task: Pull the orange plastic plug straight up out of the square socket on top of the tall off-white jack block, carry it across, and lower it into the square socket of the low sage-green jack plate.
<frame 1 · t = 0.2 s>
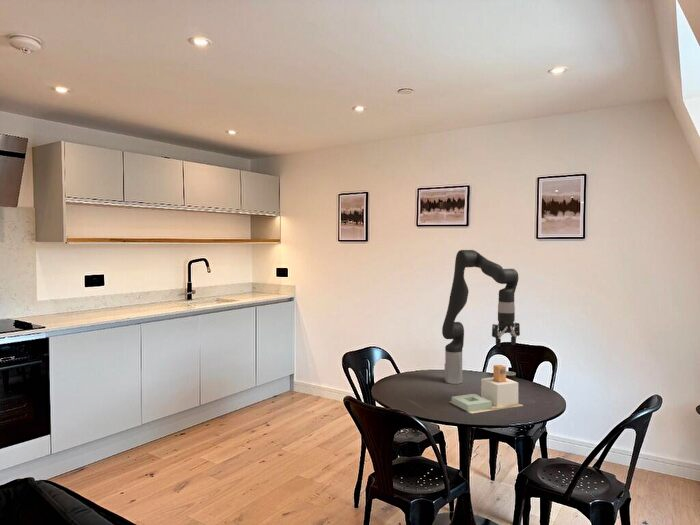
hand: (505, 345, 225), 28 cm above the table, tool pointing down, fingers open, 8 cm apart
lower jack: (471, 405, 223), resting on jack board
jack board: (485, 405, 226), on the table
coffee mug: (503, 392, 247), on the table
upper jack: (499, 401, 229), resting on jack board
plug: (499, 386, 229), point 8 cm above the table, touching upper jack
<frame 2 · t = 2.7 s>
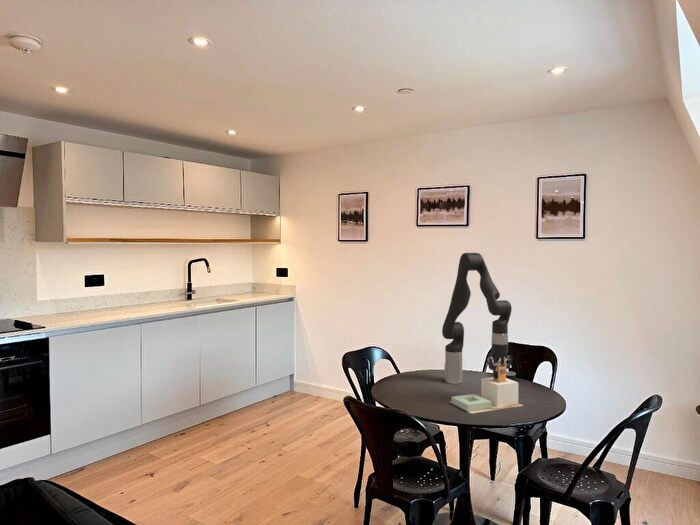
hand: (499, 378, 228), 12 cm above the table, tool pointing down, fingers closed on plug, 4 cm apart
plug: (499, 386, 229), point 8 cm above the table, touching gripper, upper jack
everything else where it was.
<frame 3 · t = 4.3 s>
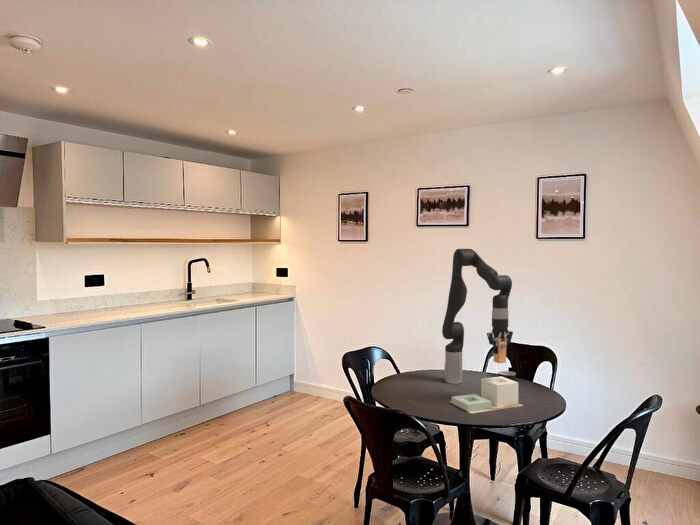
hand: (499, 353, 228), 24 cm above the table, tool pointing down, fingers closed on plug, 4 cm apart
plug: (499, 362, 228), point 20 cm above the table, touching gripper
everything else where it was.
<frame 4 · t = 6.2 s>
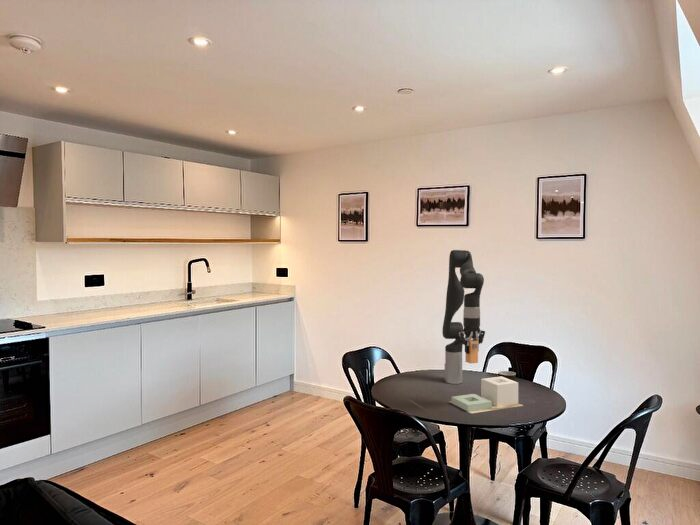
hand: (471, 353, 222), 26 cm above the table, tool pointing down, fingers closed on plug, 4 cm apart
plug: (471, 362, 222), point 21 cm above the table, touching gripper
everything else where it was.
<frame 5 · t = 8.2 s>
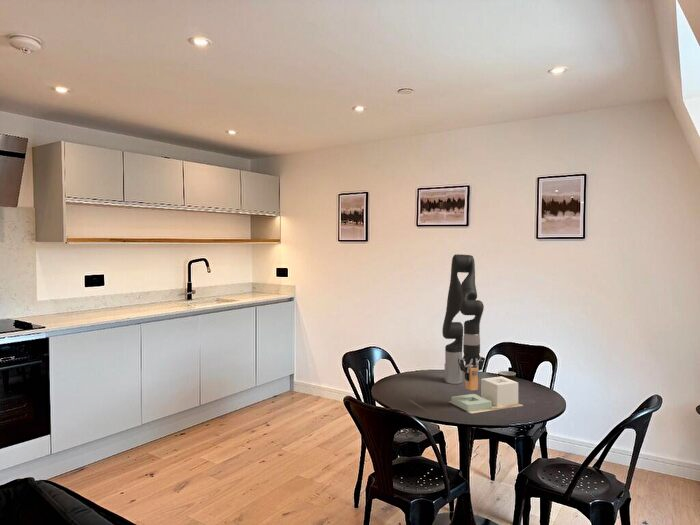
hand: (471, 379, 223), 13 cm above the table, tool pointing down, fingers closed on plug, 4 cm apart
plug: (471, 388, 223), point 9 cm above the table, touching gripper
everything else where it was.
when the fingers open (7 cm above the table, at t = 9.9 s): plug drops 1 cm, resting on jack board.
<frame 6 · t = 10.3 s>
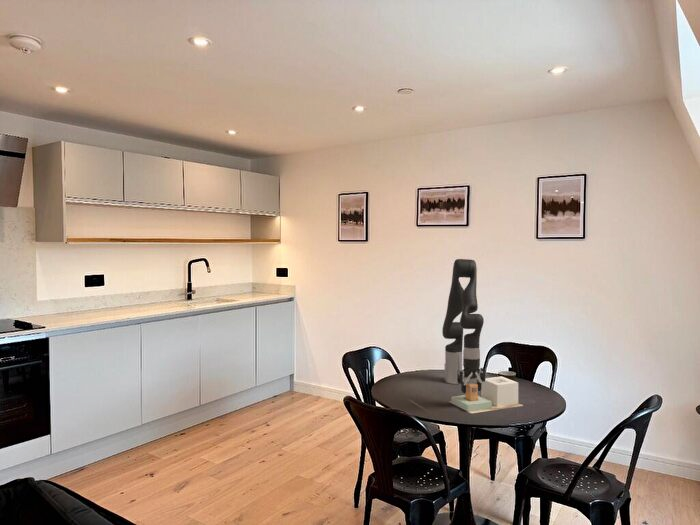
hand: (471, 391, 223), 7 cm above the table, tool pointing down, fingers open, 7 cm apart
plug: (471, 405, 223), point 1 cm above the table, touching jack board
everything else where it was.
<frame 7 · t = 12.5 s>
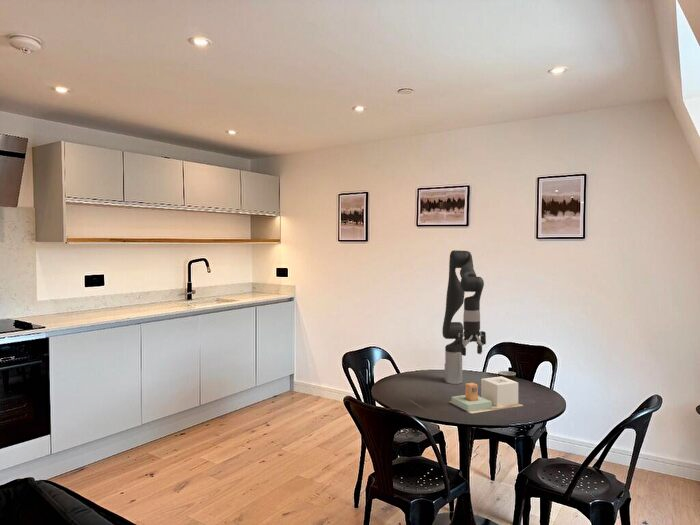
hand: (471, 354, 222), 25 cm above the table, tool pointing down, fingers open, 8 cm apart
nothing on the table moved.
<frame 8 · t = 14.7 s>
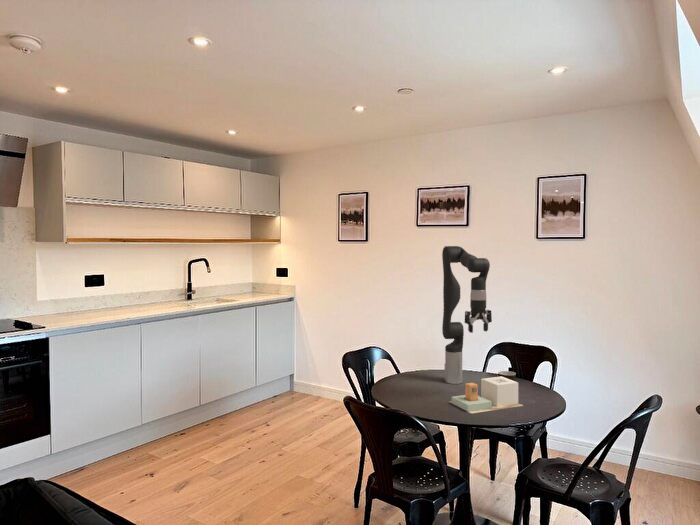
hand: (478, 331, 235), 33 cm above the table, tool pointing down, fingers open, 8 cm apart
nothing on the table moved.
at the end: plug 0.1 cm off-centre on the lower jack, point 0.0 cm above the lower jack's base; plug tilted 0°; the gripper is holding nothing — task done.
